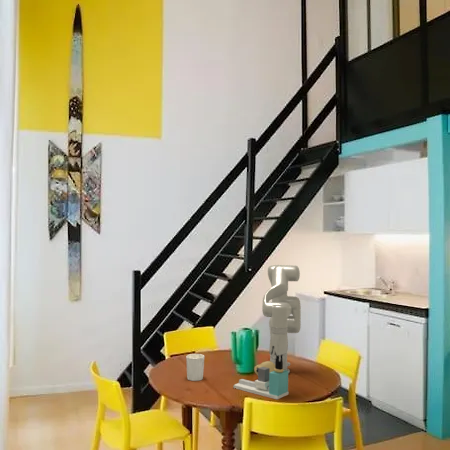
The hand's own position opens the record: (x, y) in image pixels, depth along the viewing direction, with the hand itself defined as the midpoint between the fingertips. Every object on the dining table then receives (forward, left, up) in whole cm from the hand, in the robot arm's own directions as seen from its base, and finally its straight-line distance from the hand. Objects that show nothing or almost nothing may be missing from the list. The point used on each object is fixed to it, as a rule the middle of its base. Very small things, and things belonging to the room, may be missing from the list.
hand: (278, 368), depth 241 cm
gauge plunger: (0, 0, -7) cm, 7 cm away
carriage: (0, -9, -11) cm, 14 cm away
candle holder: (+6, -49, -13) cm, 51 cm away
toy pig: (-15, -18, -13) cm, 27 cm away
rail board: (0, -11, -13) cm, 17 cm away
